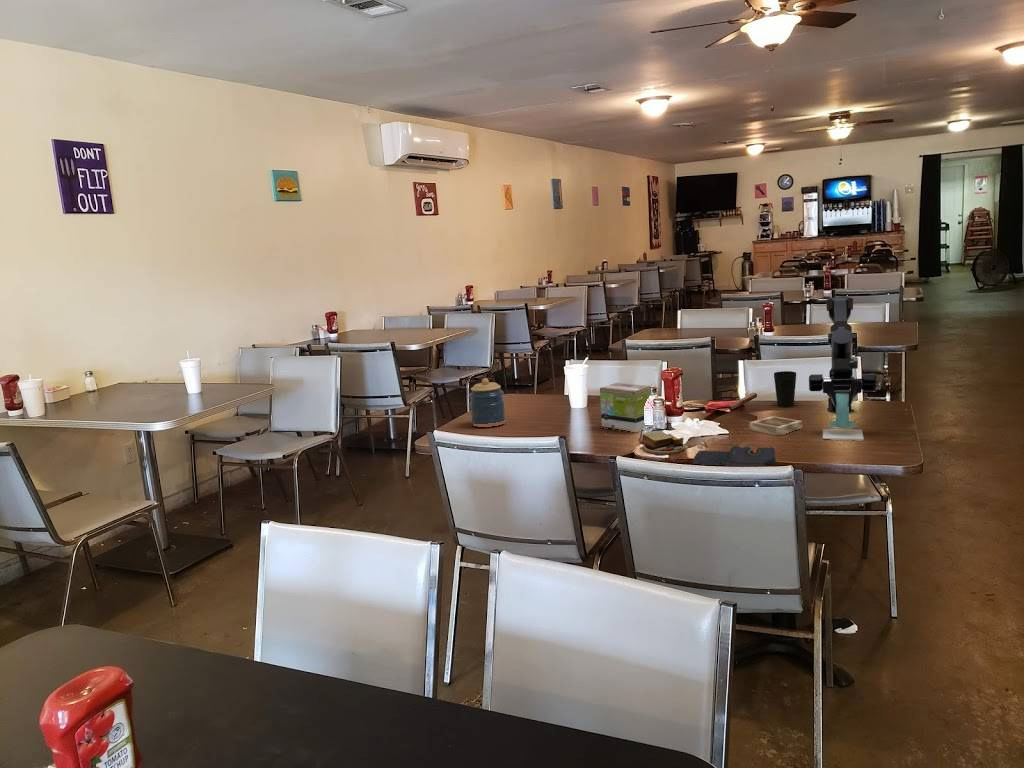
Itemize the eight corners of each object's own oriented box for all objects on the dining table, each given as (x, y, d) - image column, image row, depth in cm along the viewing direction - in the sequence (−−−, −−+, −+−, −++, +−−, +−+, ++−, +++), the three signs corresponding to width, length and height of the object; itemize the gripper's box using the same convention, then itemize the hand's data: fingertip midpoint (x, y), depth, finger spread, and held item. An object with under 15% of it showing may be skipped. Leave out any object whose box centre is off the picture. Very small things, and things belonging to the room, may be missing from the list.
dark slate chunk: (697, 456, 219) (696, 440, 218) (777, 458, 211) (777, 442, 210) (689, 472, 205) (688, 455, 204) (774, 475, 197) (774, 457, 196)
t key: (829, 424, 229) (829, 392, 228) (855, 425, 227) (855, 392, 225) (830, 427, 226) (829, 395, 224) (855, 427, 223) (855, 395, 222)
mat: (822, 430, 234) (822, 429, 234) (861, 431, 230) (861, 429, 230) (822, 439, 224) (822, 438, 224) (863, 440, 220) (863, 438, 220)
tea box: (601, 429, 260) (598, 387, 258) (618, 422, 267) (616, 382, 265) (636, 433, 250) (634, 390, 247) (654, 427, 256) (652, 384, 254)
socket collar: (772, 423, 248) (772, 416, 248) (802, 428, 239) (802, 421, 238) (749, 430, 242) (749, 422, 242) (779, 435, 233) (779, 427, 232)
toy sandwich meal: (655, 458, 220) (655, 442, 219) (634, 448, 233) (634, 433, 232) (693, 451, 224) (692, 436, 223) (670, 442, 237) (670, 427, 236)
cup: (793, 402, 276) (793, 370, 274) (799, 407, 268) (798, 374, 266) (772, 404, 276) (771, 371, 274) (777, 408, 269) (776, 375, 267)
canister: (484, 430, 272) (480, 382, 269) (465, 425, 282) (460, 379, 279) (513, 423, 279) (509, 376, 276) (493, 419, 290) (489, 374, 287)
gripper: (808, 348, 230) (808, 391, 221) (876, 347, 222) (878, 391, 214) (809, 369, 238) (809, 411, 230) (874, 368, 231) (876, 411, 223)
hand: (842, 406), depth 224 cm, fingers closed on t key, 4 cm apart
